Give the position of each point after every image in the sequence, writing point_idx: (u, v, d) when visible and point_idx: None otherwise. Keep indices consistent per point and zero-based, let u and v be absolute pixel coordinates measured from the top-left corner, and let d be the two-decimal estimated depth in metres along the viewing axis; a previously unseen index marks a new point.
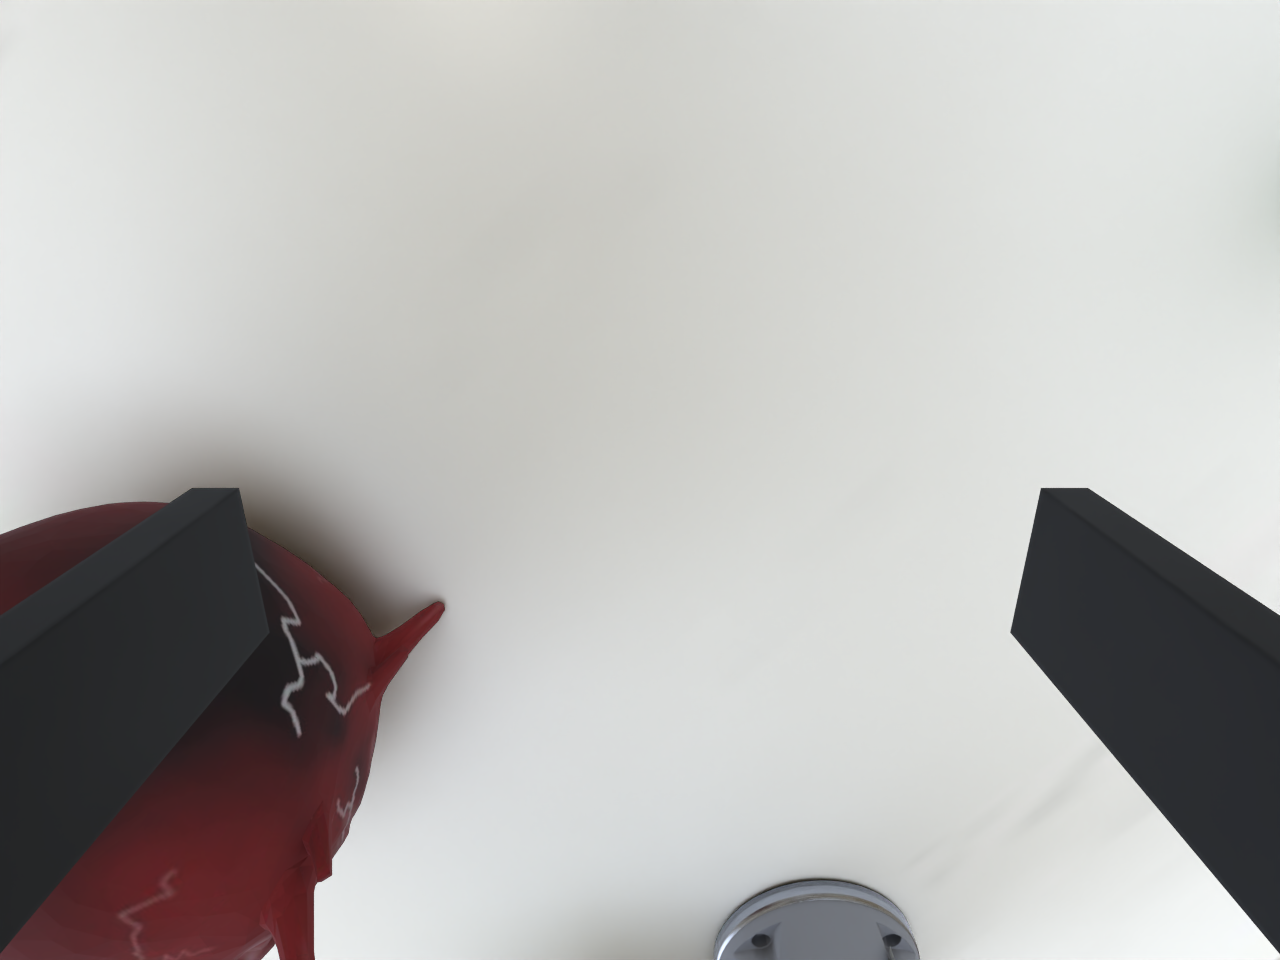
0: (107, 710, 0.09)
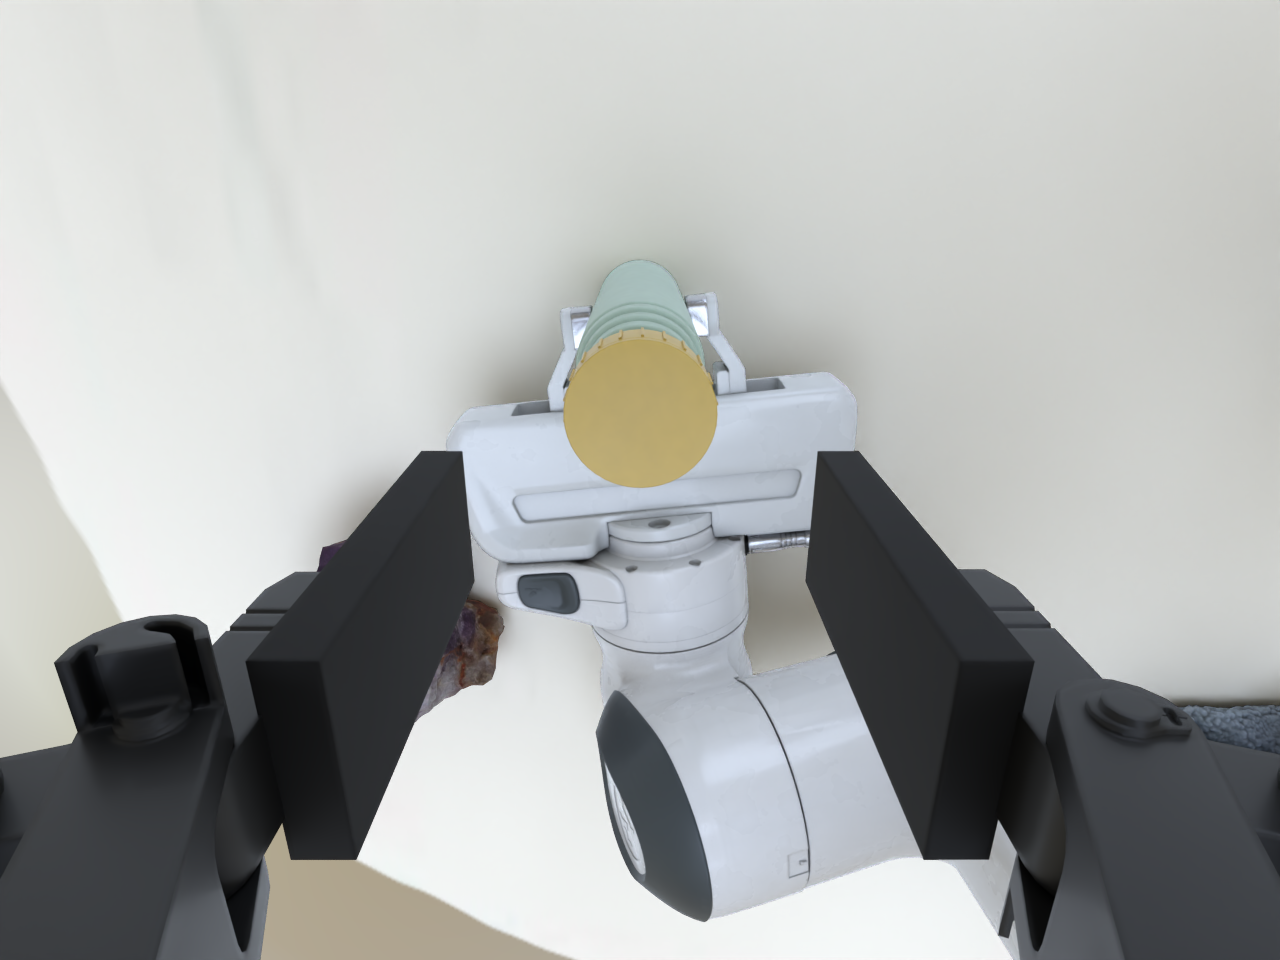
0: (413, 627, 0.11)
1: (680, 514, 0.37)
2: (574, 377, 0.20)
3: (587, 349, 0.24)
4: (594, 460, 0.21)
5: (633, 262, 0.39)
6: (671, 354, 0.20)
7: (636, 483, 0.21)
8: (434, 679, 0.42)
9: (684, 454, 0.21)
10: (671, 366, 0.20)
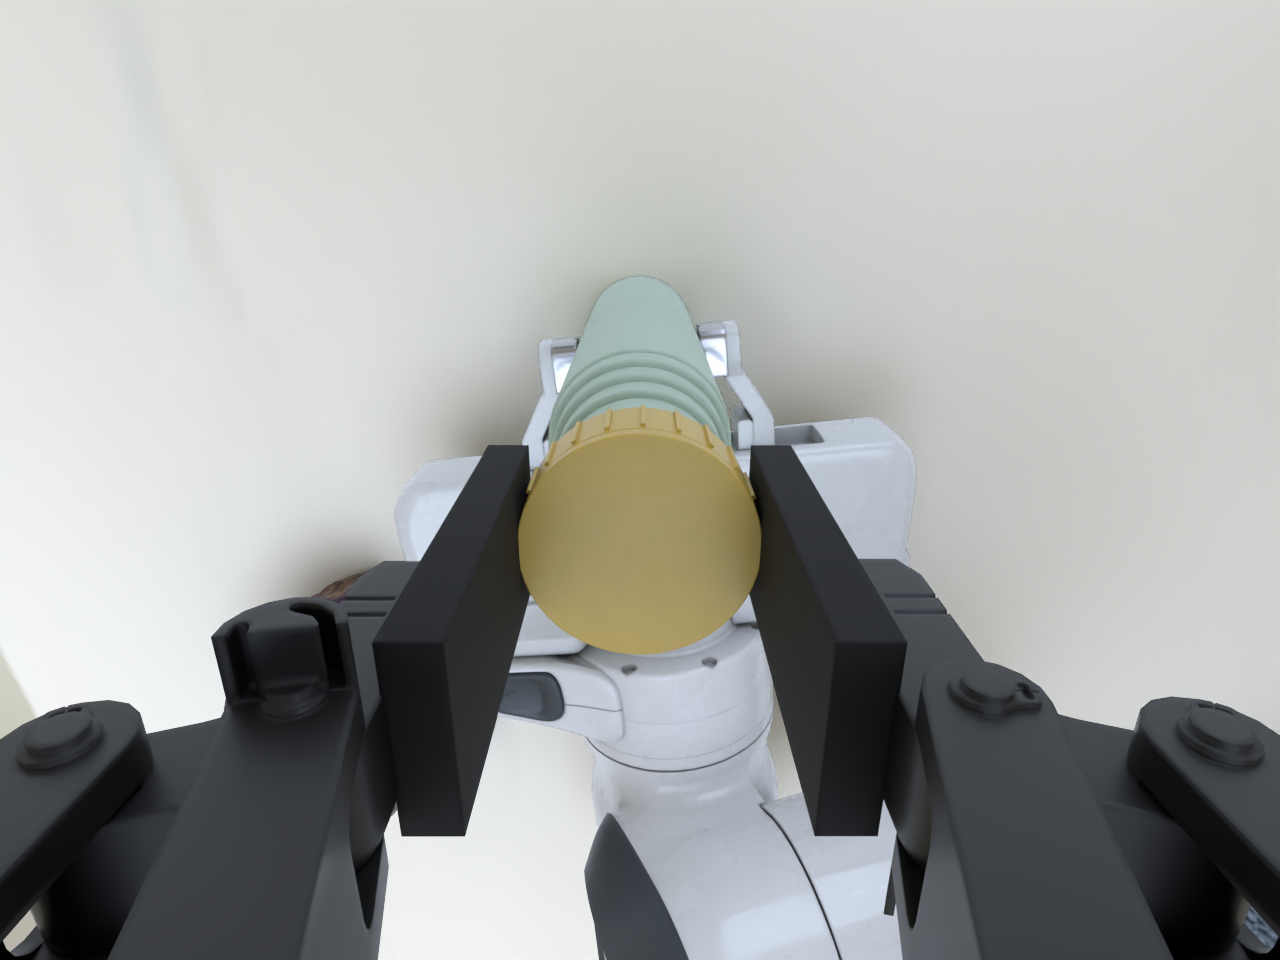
0: (499, 615, 0.11)
1: None
2: (533, 492, 0.12)
3: (562, 422, 0.17)
4: (567, 615, 0.13)
5: (631, 279, 0.32)
6: (690, 456, 0.12)
7: (633, 648, 0.13)
8: None
9: (709, 606, 0.13)
10: (688, 475, 0.12)
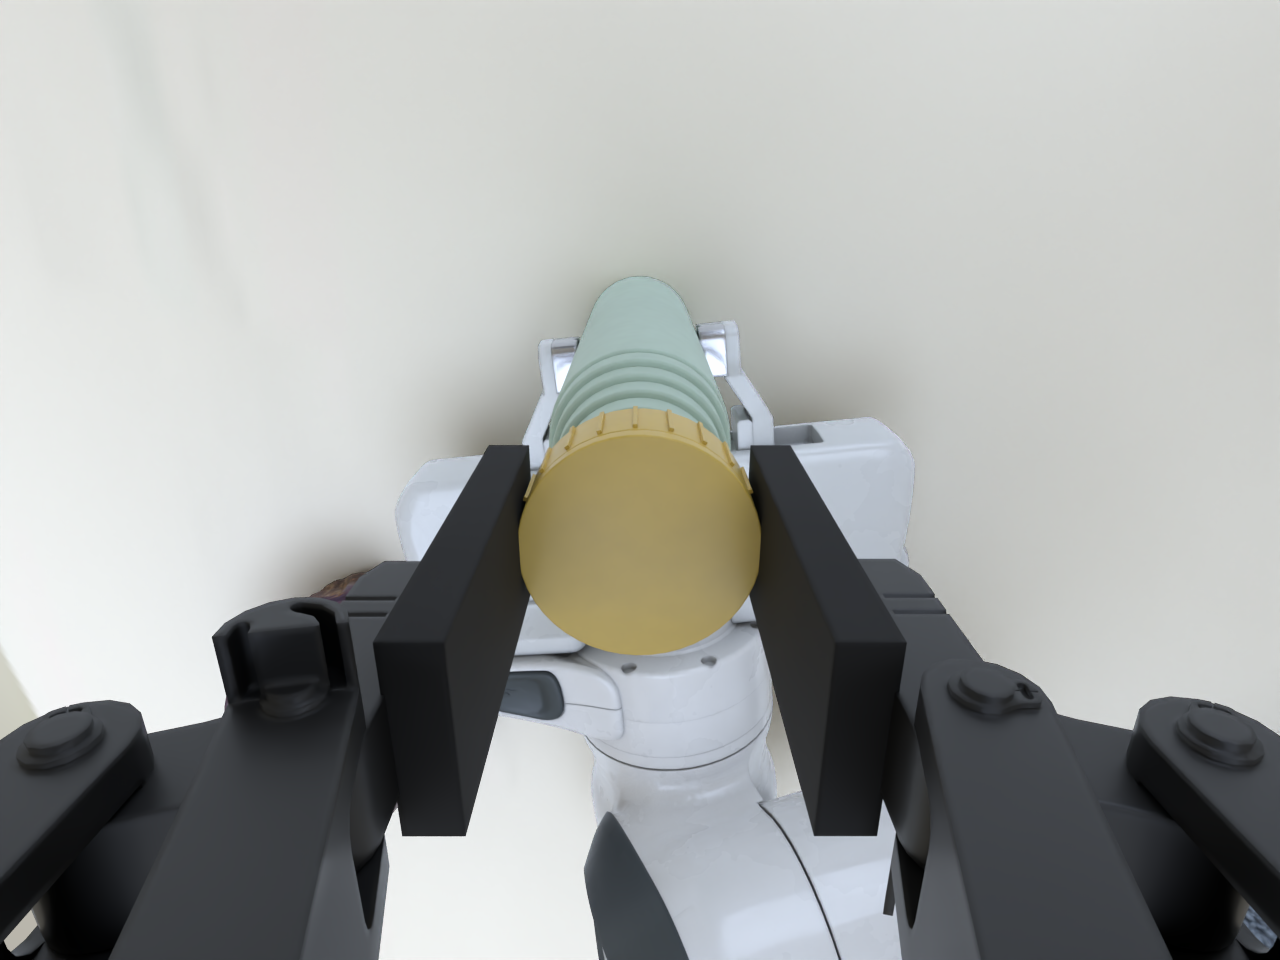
0: (499, 614, 0.11)
1: None
2: (600, 648, 0.13)
3: (563, 421, 0.17)
4: (724, 602, 0.13)
5: (631, 279, 0.32)
6: (531, 527, 0.13)
7: (754, 536, 0.13)
8: None
9: (689, 474, 0.12)
10: (549, 525, 0.13)
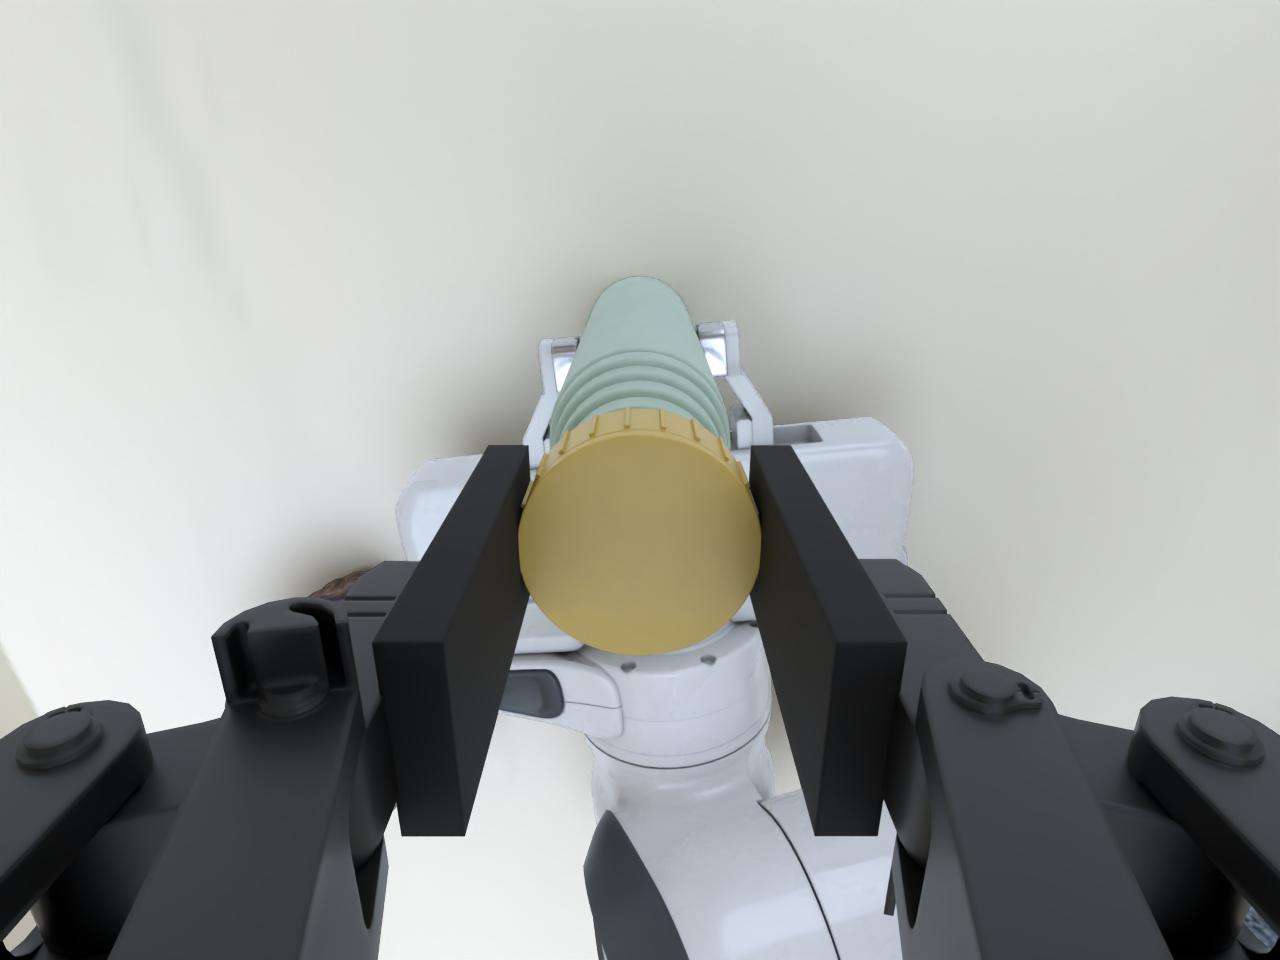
0: (499, 615, 0.11)
1: None
2: (758, 567, 0.13)
3: (563, 420, 0.17)
4: (680, 460, 0.12)
5: (631, 279, 0.32)
6: (635, 645, 0.13)
7: (597, 450, 0.12)
8: None
9: (547, 525, 0.13)
10: (629, 632, 0.13)
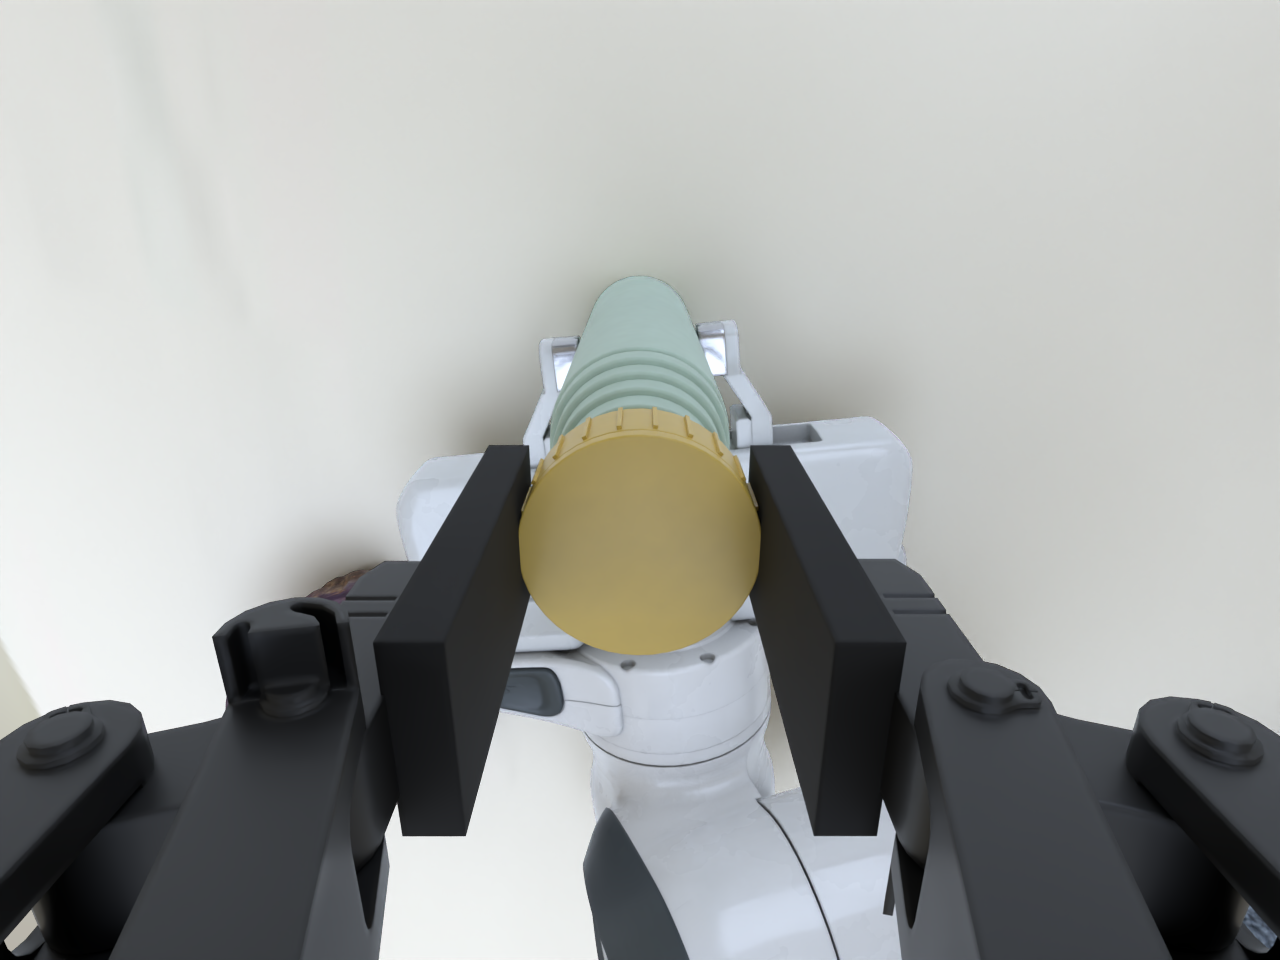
0: (499, 615, 0.11)
1: None
2: (631, 436, 0.12)
3: (564, 418, 0.17)
4: (535, 535, 0.13)
5: (632, 279, 0.32)
6: (749, 534, 0.13)
7: (545, 604, 0.13)
8: None
9: (629, 633, 0.13)
10: (733, 544, 0.13)
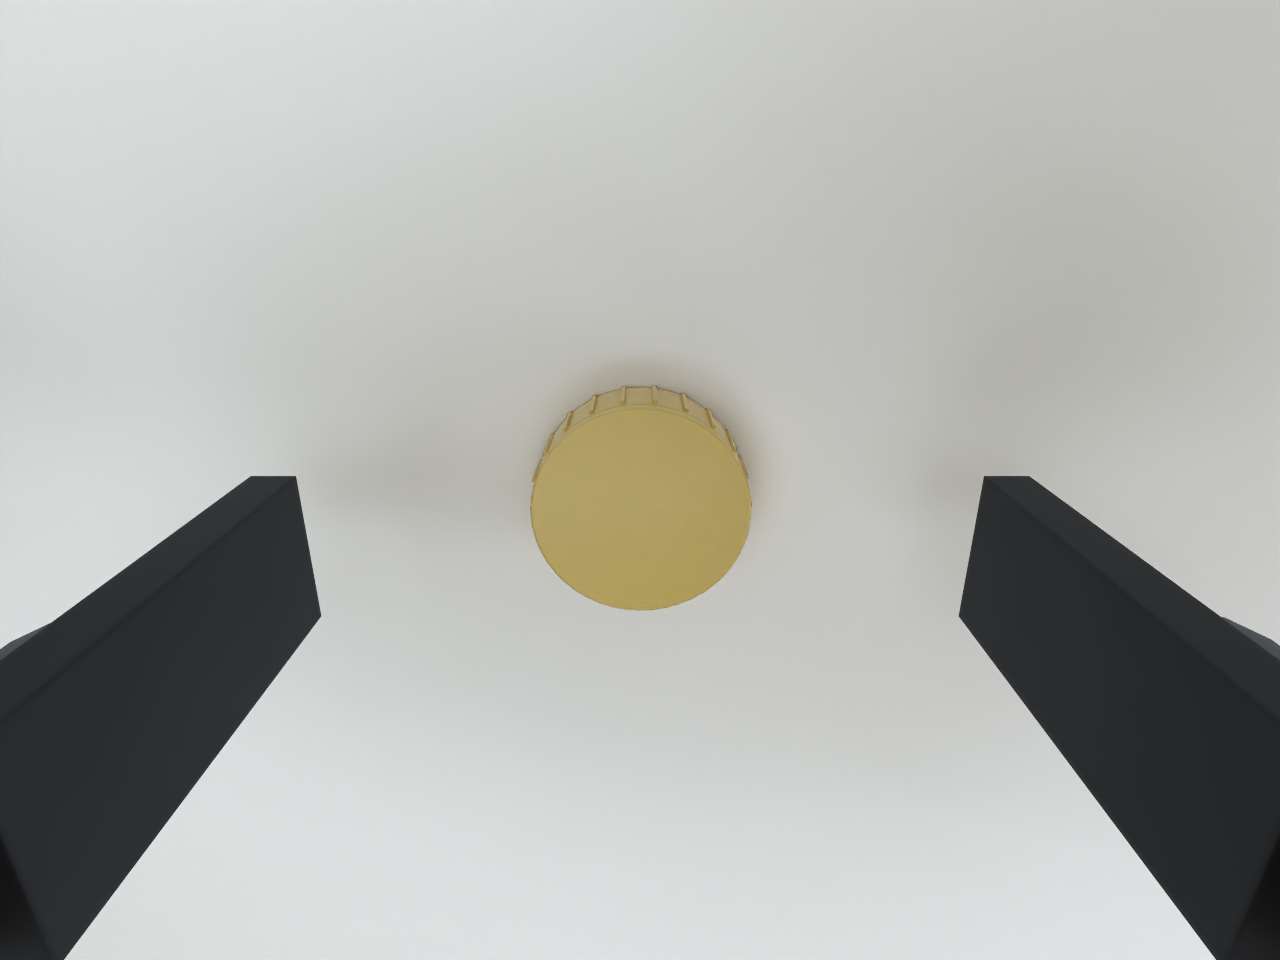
0: (190, 682, 0.09)
1: None
2: (633, 410, 0.13)
3: None
4: (547, 500, 0.14)
5: None
6: (739, 499, 0.14)
7: (556, 563, 0.15)
8: None
9: (631, 590, 0.15)
10: (725, 508, 0.14)
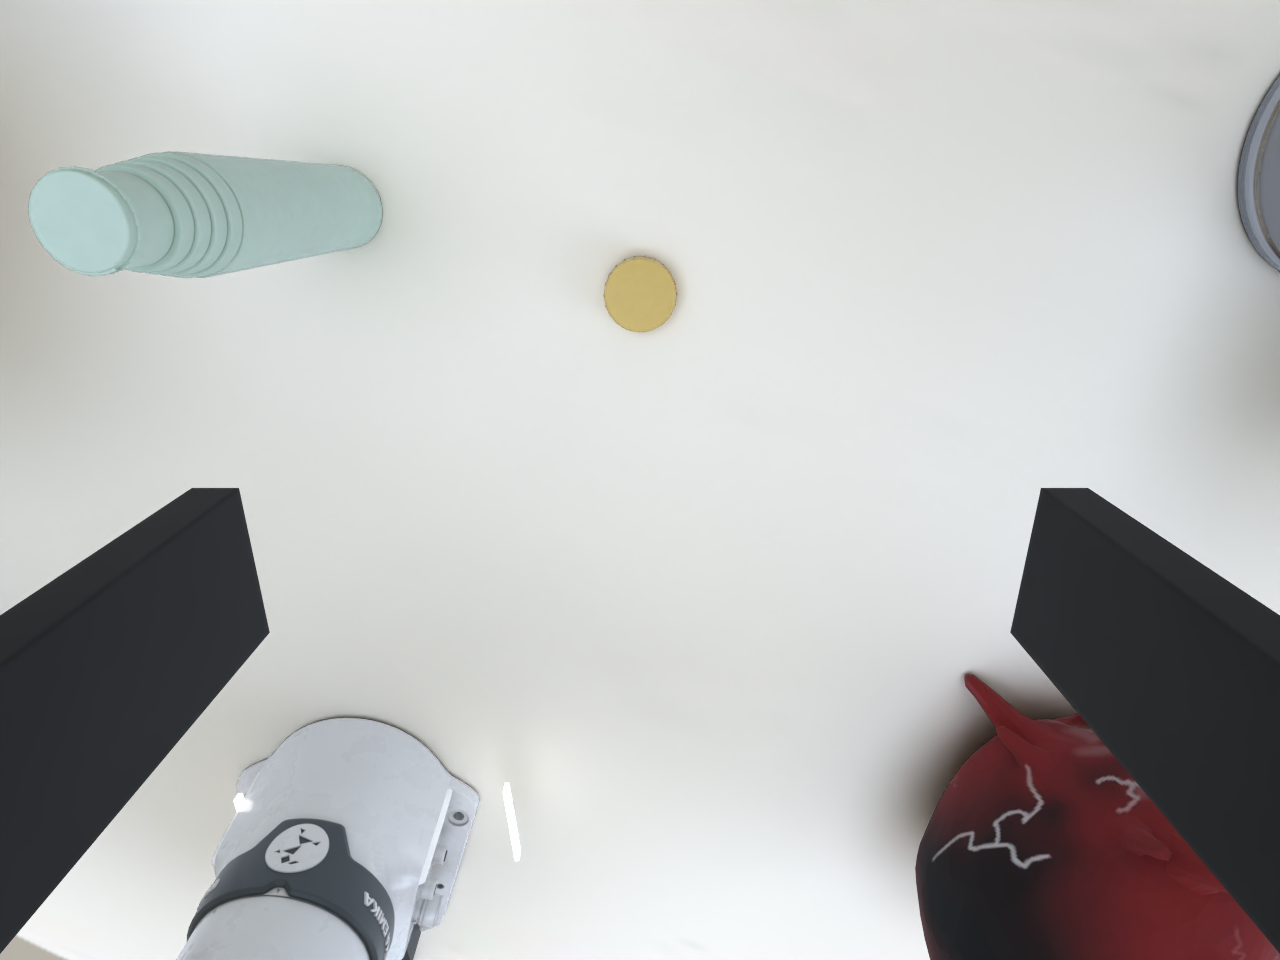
0: (108, 709, 0.09)
1: None
2: (638, 259, 0.43)
3: (185, 173, 0.26)
4: (609, 290, 0.44)
5: (375, 210, 0.42)
6: (672, 290, 0.44)
7: (612, 314, 0.44)
8: None
9: (637, 324, 0.44)
10: (667, 293, 0.44)
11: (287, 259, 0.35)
